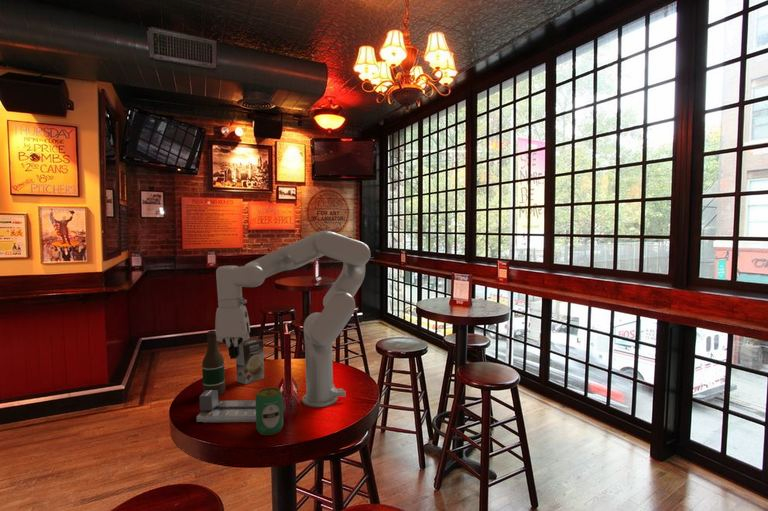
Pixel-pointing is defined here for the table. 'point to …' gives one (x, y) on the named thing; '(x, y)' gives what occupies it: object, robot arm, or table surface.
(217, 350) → the beer bottle
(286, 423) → the table surface
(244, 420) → the console
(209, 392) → the fader cap
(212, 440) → the table surface
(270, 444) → the table surface
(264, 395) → the beverage can
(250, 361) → the coffee box
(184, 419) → the table surface
